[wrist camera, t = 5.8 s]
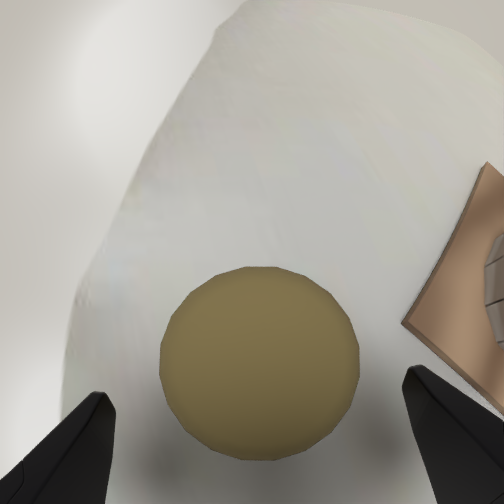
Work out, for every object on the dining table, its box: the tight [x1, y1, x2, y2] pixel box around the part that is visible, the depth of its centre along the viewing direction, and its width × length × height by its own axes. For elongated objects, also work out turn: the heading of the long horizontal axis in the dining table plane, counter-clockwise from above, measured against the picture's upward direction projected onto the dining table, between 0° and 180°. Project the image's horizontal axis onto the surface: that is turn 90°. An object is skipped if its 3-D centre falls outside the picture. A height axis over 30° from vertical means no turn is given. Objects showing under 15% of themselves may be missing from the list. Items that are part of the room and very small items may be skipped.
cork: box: [159, 267, 360, 460], centre depth 12 cm, size 6×6×11 cm
